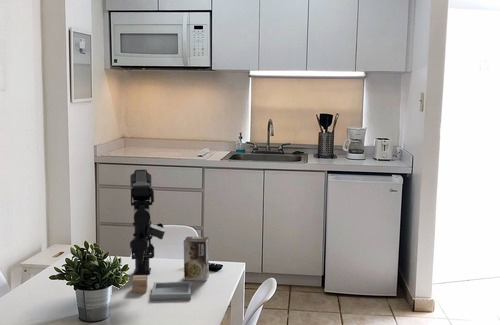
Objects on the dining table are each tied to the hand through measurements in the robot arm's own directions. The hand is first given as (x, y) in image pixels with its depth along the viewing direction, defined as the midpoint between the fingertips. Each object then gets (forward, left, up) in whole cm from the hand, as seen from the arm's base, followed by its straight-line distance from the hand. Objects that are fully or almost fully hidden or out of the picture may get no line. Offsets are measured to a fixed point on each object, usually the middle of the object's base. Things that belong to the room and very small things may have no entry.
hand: (142, 259), depth 209 cm
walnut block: (-1, -1, -12) cm, 12 cm away
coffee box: (-13, +20, -12) cm, 27 cm away
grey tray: (+3, +11, -12) cm, 16 cm away
